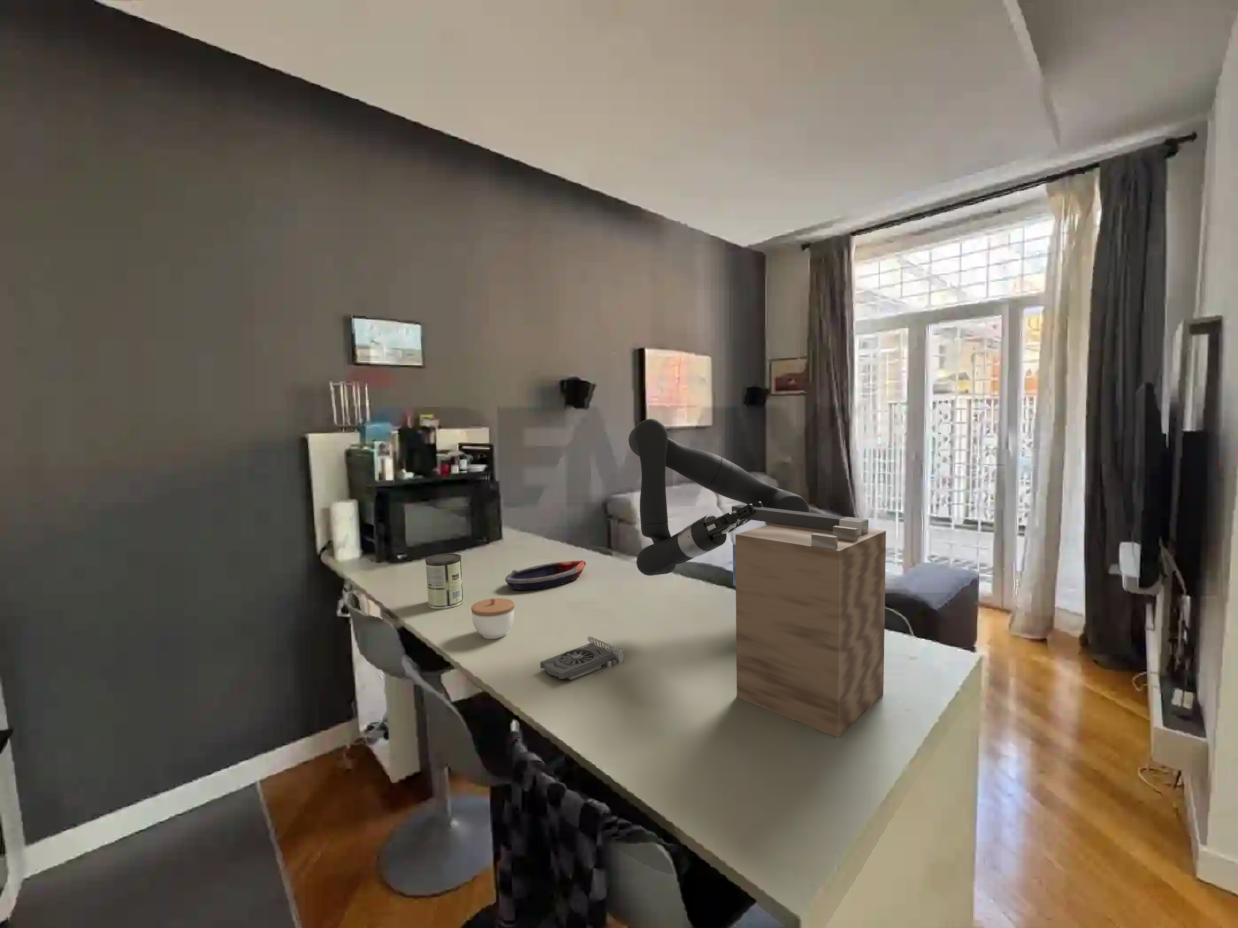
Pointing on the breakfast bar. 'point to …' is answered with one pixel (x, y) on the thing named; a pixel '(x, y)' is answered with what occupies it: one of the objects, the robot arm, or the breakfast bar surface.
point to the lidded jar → (493, 617)
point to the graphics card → (583, 660)
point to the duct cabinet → (810, 622)
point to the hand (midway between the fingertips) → (757, 506)
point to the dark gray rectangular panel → (805, 519)
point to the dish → (545, 575)
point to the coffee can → (444, 581)
